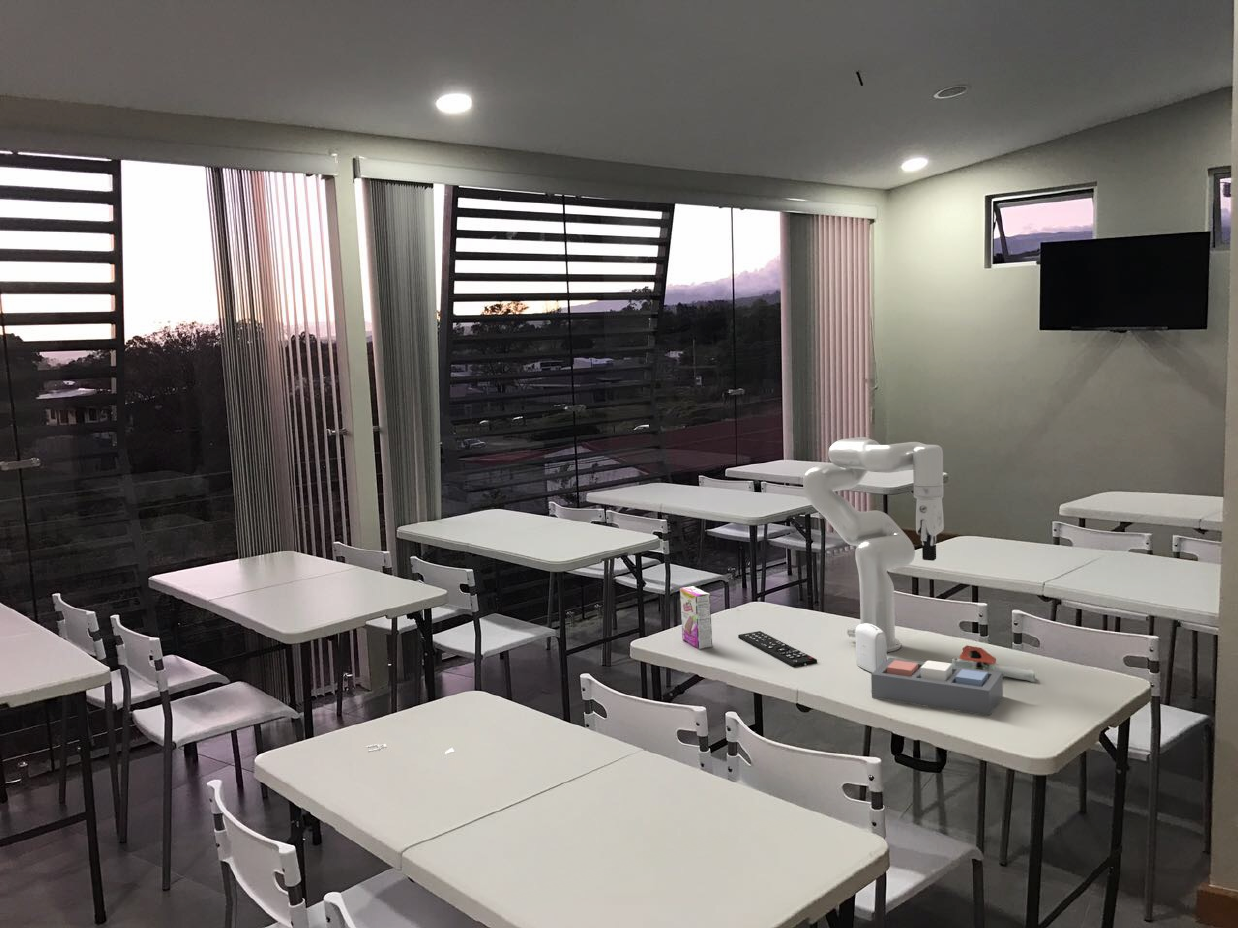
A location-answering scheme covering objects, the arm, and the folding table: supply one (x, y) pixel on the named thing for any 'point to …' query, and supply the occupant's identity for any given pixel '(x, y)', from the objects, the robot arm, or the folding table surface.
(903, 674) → the red key
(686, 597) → the candy bar box
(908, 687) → the key panel
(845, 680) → the folding table surface
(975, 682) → the blue key
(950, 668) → the white key
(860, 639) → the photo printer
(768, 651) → the remote control
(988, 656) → the tape dispenser
